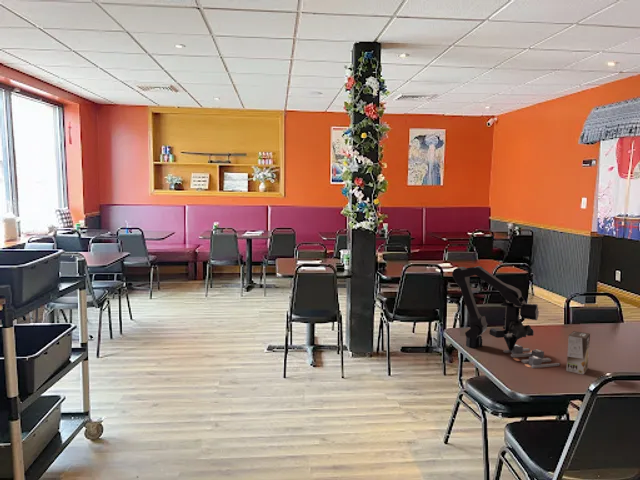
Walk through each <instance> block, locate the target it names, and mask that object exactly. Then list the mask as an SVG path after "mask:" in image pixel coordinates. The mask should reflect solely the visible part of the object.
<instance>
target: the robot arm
mask: <svg viewBox="0 0 640 480" xmlns="http://www.w3.org/2000/svg"><path fill="white" fill-rule="evenodd" d="M451 275H452V278H453V280H454V282H455V283H456V285H457V286H458V287H459V289H460V292H461V295H462V297H463V300H464V301H463V302H464V303H465V306H466V310H467V312H468V316H469V321H468V322H469V329H468V330H467V331H465V333H464V334H465V347H467V348H469V349H470V348H471V349H479V348H481V347H483V339H482V338H483V336H482V335H483V333H485V332H486V331H487V329H488V322H487V320H486V316H485V315H484V316H482V315H481V313H480V312H479V308H478V306H477V303H476V299H475V296H474V295H473V292H472V291H473V290H472V288H471V286H470V285H471V284H470V279H471V277H472V276H473V277H474V276H476V277H478V278H479V279H481V280H483V282H485V283H487V284H488V285H489V286H491V287H493V288H494V289H495V290H497V291H498V292H499V294H500V295H501V296H502V297H503V299H505V300H504V301H503V303H501V304H500V306H501V307H502V306H503V307H505V317H503V320H504V325H503V326H502V329H501V328H499V327H493V328H492V327H491V328H490V330H489V335H491V336H492V337H494V338H497V339H498V338H501V339H502V338H503V339H504V341H505V343H506V346H507V348H508V350H510V351H512V350H513V348H514V345H515V344H516V343H517V342H518V341H519V340H520V339H522V338H527V337H531V336H532V337H533V336H534V333H535V331H534V329H533V328H532V327H531V325H529V324H528V325H527V324H526V325H525V324H524V325H523V324H522V320H521V319H520V317H522V319H524V320H532V321H538V319H539V313H540V311H539V307H538V304H536V303H527V301H526V300H525V298H524V297H523V296H522V295H523V294H522V291H521V290H520V289H519V288H517V287H515V286H513V285H511V284H508V283H505V282H504V281H502V280H501V279H500V278H498V277H496V275H495V276H494V275H493V274H492V273H491V272H489V271H488V270H487V269H484V268H483V267H482V266H480V265H477V266H472V267H471V266H470V267H465V266H459V267H456V268H455V269H453V271H451Z"/></svg>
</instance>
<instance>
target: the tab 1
mask: <svg viewBox="0 0 640 480" xmlns="http://www.w3.org/2000/svg"><path fill="white" fill-rule="evenodd" d="M523 349H524V346H522V345H521V344H516V343H515V345H514V348H513V350H512V351H511V352H510V353H511V354H516V353H524V351H523Z"/></svg>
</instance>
